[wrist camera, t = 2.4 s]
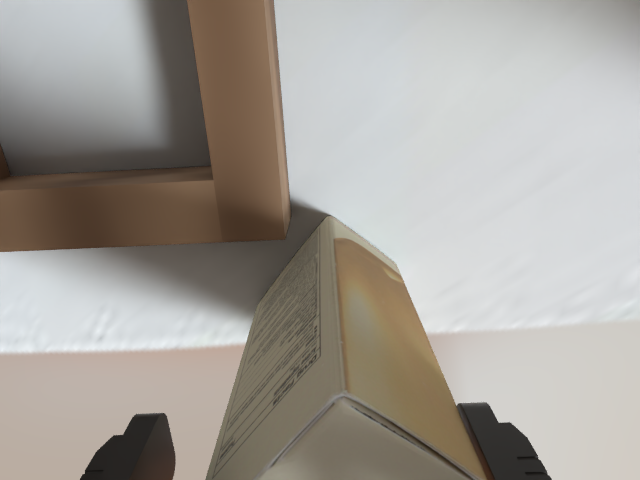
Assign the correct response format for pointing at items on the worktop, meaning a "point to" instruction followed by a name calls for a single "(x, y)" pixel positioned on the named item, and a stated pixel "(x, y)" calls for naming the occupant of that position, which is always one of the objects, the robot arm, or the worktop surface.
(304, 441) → the skincare box
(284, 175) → the socket block
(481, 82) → the worktop surface
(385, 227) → the worktop surface
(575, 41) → the worktop surface
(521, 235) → the worktop surface
